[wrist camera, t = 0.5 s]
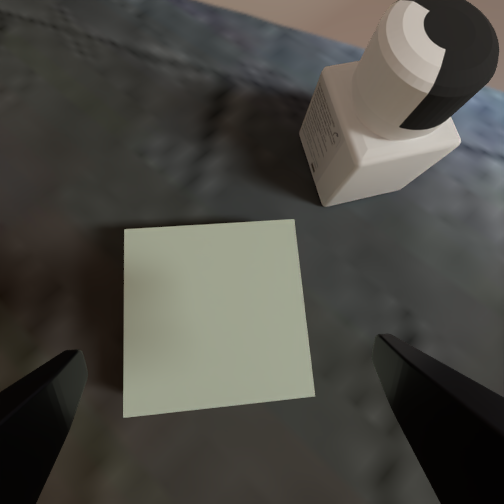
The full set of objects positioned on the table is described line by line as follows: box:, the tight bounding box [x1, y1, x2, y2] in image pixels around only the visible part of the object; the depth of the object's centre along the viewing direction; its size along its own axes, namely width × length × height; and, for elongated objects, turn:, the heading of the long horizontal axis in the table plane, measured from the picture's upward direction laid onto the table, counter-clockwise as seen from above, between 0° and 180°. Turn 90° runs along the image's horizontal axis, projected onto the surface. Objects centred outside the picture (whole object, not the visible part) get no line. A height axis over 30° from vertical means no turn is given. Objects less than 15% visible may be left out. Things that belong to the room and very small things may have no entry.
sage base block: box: [123, 219, 315, 418], centre depth 22 cm, size 12×12×4 cm
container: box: [299, 0, 499, 207], centre depth 21 cm, size 8×8×13 cm
